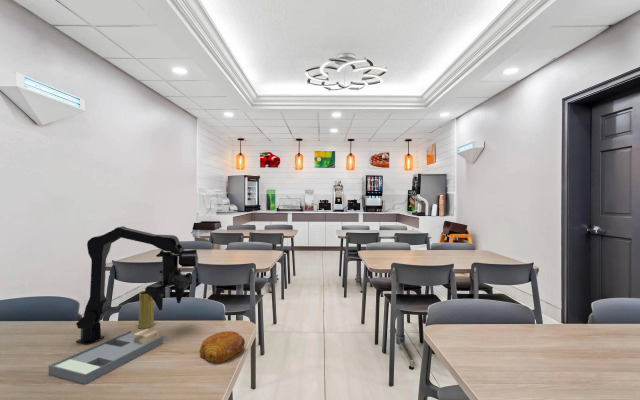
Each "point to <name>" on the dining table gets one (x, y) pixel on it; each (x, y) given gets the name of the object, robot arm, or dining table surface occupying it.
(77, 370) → the box
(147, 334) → the beech block
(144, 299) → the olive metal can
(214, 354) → the croissant
